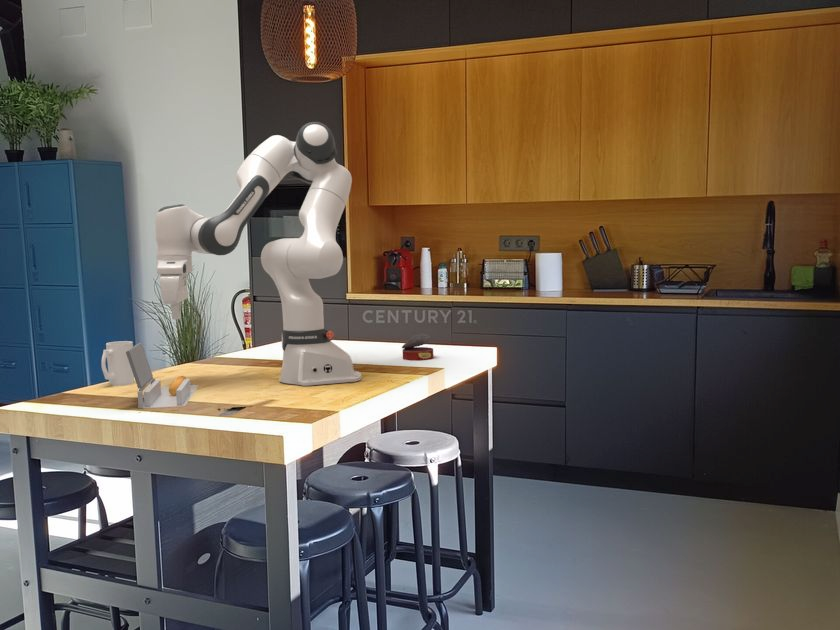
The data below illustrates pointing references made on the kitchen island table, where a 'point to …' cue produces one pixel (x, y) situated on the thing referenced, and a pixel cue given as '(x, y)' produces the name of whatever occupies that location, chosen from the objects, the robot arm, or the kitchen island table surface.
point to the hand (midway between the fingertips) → (176, 319)
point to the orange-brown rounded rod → (176, 385)
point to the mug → (117, 363)
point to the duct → (165, 395)
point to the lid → (140, 366)
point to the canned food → (417, 348)
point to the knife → (232, 410)
